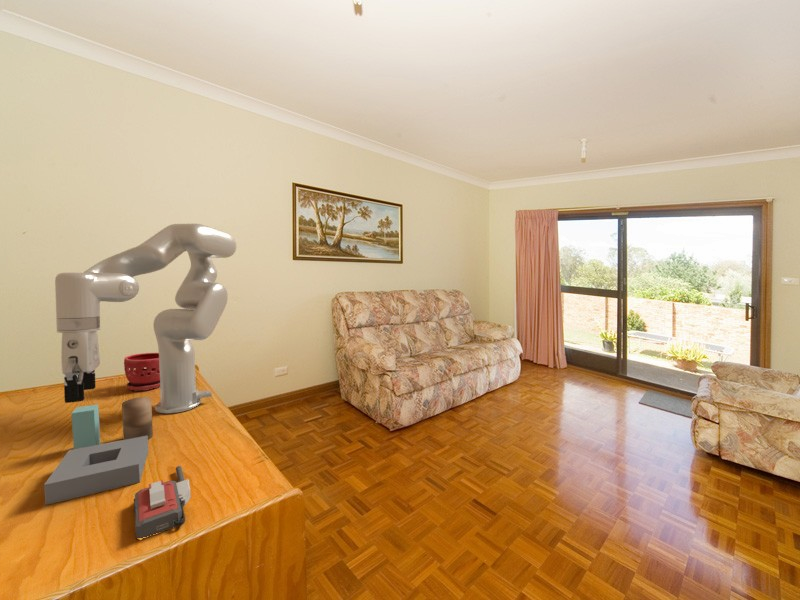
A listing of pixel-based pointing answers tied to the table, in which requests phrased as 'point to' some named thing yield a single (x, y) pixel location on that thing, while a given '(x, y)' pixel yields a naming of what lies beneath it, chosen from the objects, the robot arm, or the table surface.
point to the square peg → (85, 426)
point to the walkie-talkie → (161, 506)
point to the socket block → (97, 469)
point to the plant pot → (142, 371)
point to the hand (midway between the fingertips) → (81, 395)
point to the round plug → (137, 418)
